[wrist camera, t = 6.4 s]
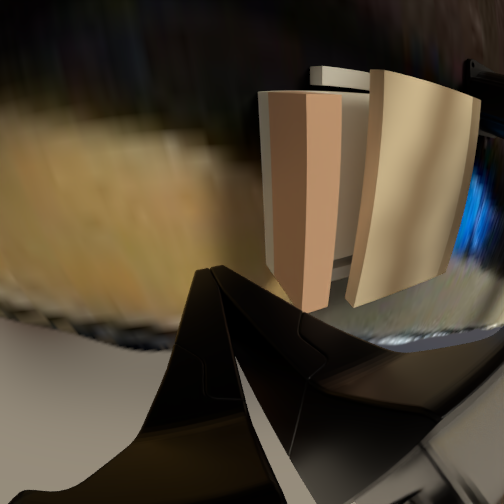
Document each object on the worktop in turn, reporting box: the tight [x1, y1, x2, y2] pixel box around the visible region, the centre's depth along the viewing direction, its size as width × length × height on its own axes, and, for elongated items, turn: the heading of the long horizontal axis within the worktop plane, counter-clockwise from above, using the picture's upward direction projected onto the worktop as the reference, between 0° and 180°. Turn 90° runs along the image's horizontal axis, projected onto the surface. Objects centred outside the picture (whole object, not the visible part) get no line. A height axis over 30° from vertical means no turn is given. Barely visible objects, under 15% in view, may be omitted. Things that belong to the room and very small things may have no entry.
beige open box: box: [310, 66, 481, 308], centre depth 16 cm, size 11×13×4 cm
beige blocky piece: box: [258, 91, 370, 313], centre depth 15 cm, size 12×10×5 cm
